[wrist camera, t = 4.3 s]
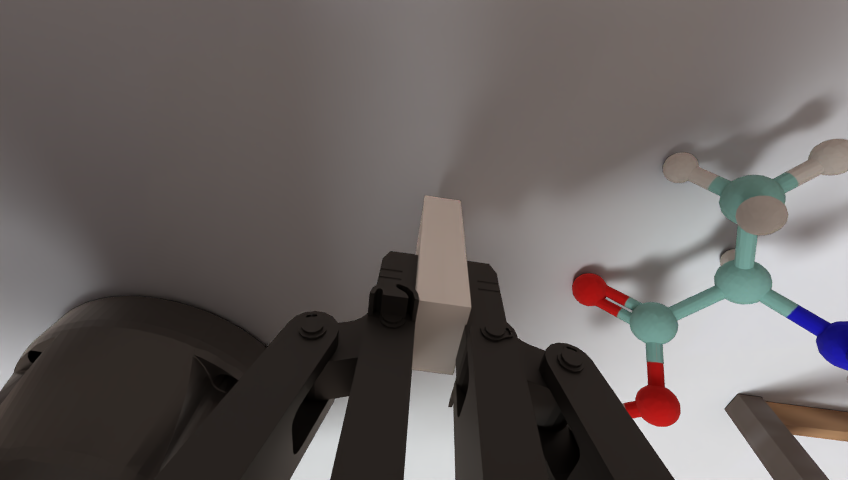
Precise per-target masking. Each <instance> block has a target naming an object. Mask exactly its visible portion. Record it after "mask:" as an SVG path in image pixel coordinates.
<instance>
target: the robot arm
mask: <svg viewBox="0 0 848 480" xmlns="http://www.w3.org/2000/svg"><path fill="white" fill-rule="evenodd" d="M455 365H456V380H455V383H454V387H453V390H452V394H451V398H450V401H449V406H448V407H452V406H453V409H454V445H455V480H675V479H674V478H673V477H672V475H671V474H670V472H669V471H668V469H667V468H666V466H665V465H664V464H663V462H662V461H661V459H660V458H659V456H658V455H657V453H656V452H655V451H654V449H653V448H652V446H651V445H650V443H649V442H648V440H647V439H646V438H645V436H644V435H643V433H642V432H641V430H640V429H639V427H638V426H637V425H636V423H635V422H634V420H633V419H632V417H631V416H630V414H629V413H628V412H627V410H626V409H625V407H624V406H623V404H622V403H621V401H620V400H619V399H618V397H617V396H616V394H615V393H614V391H613V390H612V389H611V387H610V386H609V384H608V383H607V381H606V380H605V378H604V377H603V376H602V374H601V373H600V371H599V370H598V368H597V367H596V365H595V364H594V363H593V361H592V360H591V359H590V358H589V357H588V355H587V354H586V353H585V352H583V351H582V350H580V349H579V348H577V347H575V346H572V345H570V344H566V343H555V344H551V345H550V346H549V347H548V348H547V349H546V351H544V350H542V349H539V348H537V347H534V346H531V345H529V344H527V343H525V342H523V341H521V340H520V339H518V338H517V335H516V333H515V331H514V329H513V328H512V327H511V326H510V325H509V324H508V323H507V322H506V318H505V313H504V308H503V303H502V298H501V293H500V288H499V285H498V278H497V274H496V272H495V271H494V270H493V268H492V267H491V266H490V265H489V264H485V263H478V262H471V261H467V258H466V248H465V238H464V228H463V218H462V208H461V201H459V200H453V199H446V198H439V197H432V196H426V195H425V197H424V203H423V209H422V216H421V222H420V228H419V234H418V241H417V247H416V255H415V254H408V253H400V252H393V251H390V252H389V253H388V254H387V255H386V256H385V257H384V258H383V260H382V264H381V269H380V273H379V278H378V282H377V285H376V286H374V287H373V288H372V290H371V292H370V297H369V308H368V313H367V314H366V315H365V316H363V317H362V318H360V319H357V320H355V321H350V322H343V323H337V321H336V320H335V319H334V318H333V317H332V316H330V315H328V314H326V313H323V312H317V311H313V312H305V313H302V314H300V315H297V316H296V317H294V318H293V319H292V320H291V321H289V323H288V324H287V325H286V326H285V327H284V328H283V330H282V331H281V332H280V333H279V334H278V335H277V337H276V338H275V339H274V340H273V341H272V342H271V343H270V345H269V346H268V347H267V348H266V347H265V346H264V345H263V344H262V343H261V342H259V341H258V340H257V339H255V338H254V337H253V336H251V335H250V334H248V333H247V332H245V331H244V330H242V329H241V328H239V327H237V326H236V325H234V324H232V323H230V322H228V321H226V320H224V319H222V318H220V317H218V316H216V315H213V314H211V313H209V312H206V311H203V310H201V309H198V308H195V307H192V306H189V305H185V304H182V303H178V302H174V301H169V300H164V299H158V298H151V297H139V296H119V297H109V298H102V299H98V300H94V301H90V302H87V303H85V304H82V305H80V306H78V307H76V308H74V309H72V310H71V311H69V312H68V313H66V314H65V315H64V316H63V317H62V318H60V319H59V320H58V321H57V322H56V323H54V324H53V325H52V326H51V327H50V328H49V329H47V330H46V331H45V332H44V333H43V334H41V335H40V336H39V337H38V338H37V339H36V340H34V341H33V342H32V344H31V345H30V346H29V347H28V348H27V349H26V350H25V352H24V353H23V355H22V356H21V358H20V360H19V361H18V363H17V365H16V367H15V369H14V373H13V375H12V376H11V377H10V379H9V380H8V381H7V383H6V384H5V385H4V387H3V388H2V390H1V391H0V480H290V478H291V476H292V475H293V473H294V471H295V469H296V468H297V466H298V464H299V462H300V461H301V459H302V457H303V455H304V453H305V452H306V450H307V448H308V446H309V445H310V443H311V441H312V439H313V437H314V436H315V434H316V432H317V430H318V429H319V427H320V425H321V423H322V421H323V420H324V418H325V416H326V414H327V413H328V411H329V409H330V407H331V406H332V404H333V402H334V399H335V398H340V397H346V396H349V400H348V404H347V409H346V413H345V417H344V422H343V426H342V431H341V435H340V439H339V444H338V448H337V452H336V457H335V461H334V466H333V470H332V474H331V479H330V480H404V467H405V453H406V440H407V427H408V414H409V400H410V387H411V374H412V370H419V371H426V372H434V373H442V374H450V375H453V373H454V369H455Z"/></svg>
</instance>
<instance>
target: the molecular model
mask: <svg viewBox="0 0 848 480" xmlns="http://www.w3.org/2000/svg"><path fill="white" fill-rule="evenodd" d="M847 171H848V140H845V139H831V140H827V141H824V142H822V143H820V144H819V145H817V146H815V147H814V148H813V149H812V151H811V152H810V155H809V157H808V160H807V161H806V162H804V163H802V164H800V165H798V166H796V167H794V168H792V169H790V170H789V171H787V172H785V173H783V174H782V175H780V176H778V177H776V178H774V179H771V178H768V177H765V176H761V175H747V176H743V177H740V178H737V179H735V180H734V181H732V182H731V181H729V180H727V179H725V178H722V177H720V176H718V175H716V174H713V173H711V172H709V171H707V170H705V169H702V168H700V167H699V164H698V161H697V159H696V158H695V157H694V156H693V155H691V154H689V153H686V152H681V153H676V154H673V155H671V156H670V157H668V158H667V160H666V161H665V163H664V165H663V174H664V176H665V177H666V178H667V179H668V180H669V181H671V182H674V183H684V182H687V181H690V182H692V183H694V184H696V185H699V186H701V187H703V188H705V189H707V190H709V191H711V192H713V193H715V194H717V195H719V196H720V201H719V204H720V208H721V211H722V213H723V214H724V215H725V216H726V217H727V218H728V219H729V220H731V221H732V222H734V223H737V224H738V228H737V238H736V249H731V250H728V251H726V252H725V253H724V254H723V255H722V256H721V259H720V265H721V266H720V267H719V269H718V270H717V272H716V274H715V276H714V282H715V286H713V287H711V288H709V289H707V290H705V291H703V292H701V293H698V294H696V295H694V296H692V297H689V298H687V299H685V300H683V301H681V302H679V303H677V304H675V305H673V306H671V307H669V308H668V307H666V306H665V305H663V304H660V303H656V302H646V303H643V304H642V303H641V302H639V301H637V300H635V299H633V298H631V297H629V296H627V295H625V294H623V293H621V292H619V291H617V290H615V289H613V288H611V287H609V286H607V285H606V282H605V281H604V280H603V279H602V278H601V277H600V276H598V275H596V274H593V273H586V274H582V275H580V276H579V277H577V278H576V279H575V281H574V283H573V285H572V291H573V295H574V297H575V299H576V300H577V301H578V302H579V303H581V304H583V305H586V306H597V307H599V308H601V309H603V310H605V311H606V312H608V313H610V314H612V315H614V316H615V317H617V318H619V319H621V320H623V321H625V322H627V323H628V324H630V328H631V331H632V332H633V334H634V335H635V336H636V337H637V338H638V339H639V340H641V341H643V342H644V343H646V359H647V373H648V385H647V386H645V387H643V388H641V389H640V390H639V391H638V392H637V395H636V398H635V401H633V402H628V403H622V404H623V406H624V407H625V409H626V410H627V412H628V413H629V414H630V416H631V417H632V418H637V417H642V418H643V419H644V420H645V421H647V422H648V423H650V424H652V425H655V426H658V427H667V426H670V425H672V424H674V423H675V422H676V421H677V420H678V418H679V416H680V403H679V401H678V399H677V397H676V396H675V395H674V394H673V393H672V392H671V391H670V390H669V389H667V388H665V383H664V367H663V364H664V362H663V345H662V344H665V343H667V342H669V341H670V340H672V339H673V338H674V337H675V335H676V333H677V330H678V323H677V320H680V319H682V318H684V317H686V316H688V315H690V314H693V313H695V312H697V311H699V310H701V309H703V308H705V307H708V306H710V305H712V304H714V303H716V302H718V301H720V300H723V299H727V300H729V301H731V302H734V303H737V304H753V303H757V302H759V301H760V302H762V303H763V304H765V305H766V306H768V307H770V308H771V309H773V310H775V311H776V312H778V313H780V314H781V315H783V316H785V317H786V318H788V319H790V320H791V321H793V322H795V323H796V324H798V325H799V326H801V327H803V328H804V329H806V330H808V331H809V332H811V333H813V334H814V335H816V336H817V339H816V343H817V346H818V350H819V353H820V354H821V355H822V356H823V357H824V358H825V359H826V360H827V361H828V362H830V363H831V364H833V365H834V366H837V367H839V368H842V369H845V370H848V321H839V322H834V323H829V322H827V321H825V320H824V319H822V318H820V317H818V316H817V315H815V314H813V313H811V312H810V311H808V310H806V309H805V308H803V307H801V306H799V305H798V304H796V303H794V302H792V301H791V300H789V299H787V298H785V297H784V296H782V295H780V294H778V293H777V292H775V291H773V290H772V289H771V288H772V279H771V275H770V274H769V272H768V271H767V270H766V269H765V268H764V267H763V266H762V265H760V264H759V263H757V262H754V260H755V252H756V244H757V236H758V235H768V234H772V233H774V232H776V231H778V230H780V229H781V228H782V227H783V226H784V224H785V223H786V222H787V218H788V212H787V209H786V206H785V198H786V197H785V193H786V192H788V191H790V190H792V189H794V188H796V187H798V186H800V185H801V184H803V183H805V182H807V181H809V180H811V179H813V178H815V177H817V176H819V175H821V174H822V175H838V174H842V173H845V172H847ZM606 297H608V298H610V299H612V300H614V301H615V302H617V303H619V304H621V305H623V306H625V307H627V308H629V309H631V310H632V313H631V312H629V311H627V310H625V309H623V308H621V307H619V306H618V305H616V304H614V303H612V302H610V301H608V300H606V299H605V298H606ZM847 381H848V377H847Z"/></svg>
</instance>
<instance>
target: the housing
mask: <svg viewBox="0 0 848 480" xmlns="http://www.w3.org/2000/svg"><path fill="white" fill-rule="evenodd" d="M725 411H726V412H727V414H728V415H729V416H730V418H731V419H732V421H733V422H734V424H735V425H736V426H737V428H738V429H739V431H740V432H741V434H742V435H743V436H744V438H745V439H746V441H747V442H748V444H749V445H750V446H751V448H752V449H753V451H754V452H755V454H756V455H757V457H758V458H759V459H760V461H761V462H762V464H763V465H764V467H765V468H766V469H767V471H768V472H769V474H770V475H771V477H772V478H773V479H774V480H829V479H828V478H827V477H826V475H825V474H824V473H823V472H822V470H821V469H820V468H819V467H818V465H817V464H816V463H815V462H814V461H813V459H812V458H811V457H810V456H809V454H808V453H807V452H806V451H805V450H804V448H803V447H802V446H801V445H800V443H799V442H798V441H797V440H796V438H795V437H794V436H793V435H799V436H808V437H816V438H824V439H832V440H840V441H848V412H843V411H835V410H827V409H819V408H811V407H804V406H796V405H788V404H780V403H772V402H765V400H764V399H763V398H762V397H757V396H750V395H742V394H738V395H737V396H736V397H735V398H734V399H733V400H732V402H731V403H730V404H729V405H728V406H727V407H726V408H725Z"/></svg>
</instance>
